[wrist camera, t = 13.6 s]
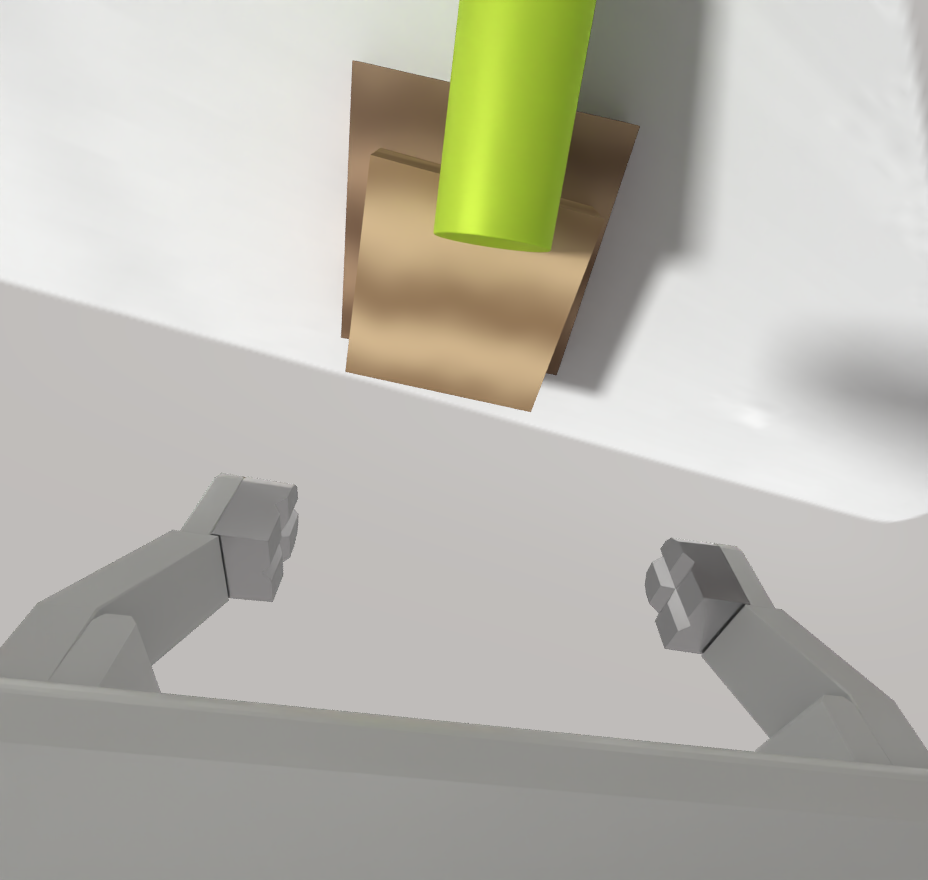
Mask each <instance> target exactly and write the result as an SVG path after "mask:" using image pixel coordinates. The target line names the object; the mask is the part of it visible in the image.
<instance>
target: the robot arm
mask: <svg viewBox="0 0 928 880" xmlns="http://www.w3.org/2000/svg"><path fill="white" fill-rule="evenodd" d="M297 499H298V492H297V486H296V485H294V484H288V483H282V482H276V481H270V480H264V479H258V478H252V477H243V476H237V475H231V474H225V473H221V474H219V475H218V476H216V477H215V478H214V480H213V481H212V483H211V484H210V486H209V487H208V489H207V490H206V492H205V494H204V495H203V497H202V498H201V500H200V501H199V503H198V504H197V506H196V508H195V509H194V510H193V512H192V514H191V515H190V517H189V518H188V520H187V521H186V523H185V524H184V526H183V527H182V529H181V530H180V531H177V530H171V531H169V532H168V533H166V534H164V535H162V536H160V537H159V538H157V539H155V540H153V541H151V542H149V543H147V544H146V545H144V546H142V547H140V548H138V549H137V550H134V551H133V552H131V553H129V554H127V555H125V556H123V557H122V558H120V559H118V560H116V561H115V562H112V563H111V564H109V565H107V566H105V567H103V568H101V569H100V570H98V571H96V572H94V573H92V574H90V575H88V576H87V577H85V578H83V579H81V580H79V581H77V582H75V583H74V584H72V585H70V586H68V587H66V588H65V589H63V590H61V591H59V592H57V593H55V594H53V595H52V596H50V597H48V598H46V599H44V600H42V601H40V602H39V603H37V604H36V606H35V607H34V608H33V609H32V610H31V612H30V613H29V614H28V615H27V616H26V618H25V619H24V620H23V621H22V622H21V624H20V625H19V626H18V627H17V628H16V630H15V631H14V632H13V633H12V634H11V636H10V637H9V638H8V639H7V640H6V642H5V643H4V644H3V645H2V646H1V647H0V880H928V750H927V749H926V747H925V746H924V745H923V743H922V741H921V740H920V738H919V737H918V735H917V734H916V733H915V731H914V730H913V728H912V727H911V725H910V724H909V722H908V721H907V719H906V718H905V716H904V715H903V713H902V712H901V710H900V709H899V708H898V706H897V705H896V703H895V702H894V700H892V699H891V698H890V697H889V696H887V695H886V694H885V693H884V692H883V691H881V690H880V689H879V688H878V687H876V686H875V685H874V684H873V683H871V682H870V681H869V680H868V679H867V678H865V677H864V676H863V675H862V674H860V673H859V672H858V671H857V670H856V669H854V668H853V667H852V666H850V665H849V664H848V663H847V662H846V661H845V660H843V659H842V658H841V657H840V656H838V655H837V654H836V653H835V652H834V651H832V650H831V649H830V648H829V647H827V646H826V645H825V644H824V643H822V642H821V641H820V640H819V639H818V638H816V637H815V636H814V635H813V634H811V633H810V632H809V631H808V630H807V629H805V628H804V627H803V626H802V625H800V624H799V623H798V622H797V621H796V620H794V619H793V618H792V617H791V616H789V615H788V614H787V613H786V612H785V611H783V610H782V609H776V608H775V607H774V605H773V604H772V602H771V600H770V598H769V597H768V595H767V593H766V592H765V590H764V588H763V586H762V585H761V583H760V581H759V579H758V578H757V576H756V574H755V572H754V571H753V569H752V567H751V566H750V564H749V562H748V561H747V559H746V557H745V555H744V553H743V552H742V551H741V550H740V549H739V548H738V547H737V546H731V545H723V544H715V543H714V544H712V543H707V542H699V541H691V540H684V539H677V538H670V539H669V540H667V541H665V543H664V544H663V546H662V547H661V552H662V555H663V557H661V558H659V559H657V560H655V561H653V562H652V563H651V565H650V567H649V569H648V571H647V573H646V580H645V588H646V595H647V598H648V601H649V603H650V605H651V606H652V607H653V608H654V609H655V610H656V611H657V612H658V613H659V614H658V616H657V618H656V620H655V622H656V625H657V628H658V631H659V633H660V636H661V639H662V642H663V645H664V648H665V649H671V650H677V651H684V652H691V653H697V654H702V658H703V659H704V660H705V661H706V662H707V664H708V665H709V666H710V667H711V668H712V669H713V671H714V672H715V673H716V674H717V676H718V677H719V678H720V679H721V680H722V681H723V683H724V684H725V685H726V686H727V688H728V689H729V690H730V691H731V692H732V694H733V695H734V696H735V697H736V698H737V699H738V701H739V702H740V703H741V704H742V705H743V707H744V708H745V709H746V710H747V711H748V712H749V714H750V715H751V716H752V717H753V719H754V720H755V721H756V722H757V723H758V724H759V726H760V727H761V728H762V729H763V731H764V732H765V733H766V734H767V735H768V737H769V738H770V739H769V740H768V741H766V742H765V743H763V744H762V745H761V746H760V747H759V748H757V749H756V751H755V752H751V751H741V750H732V749H721V748H711V747H701V746H691V745H681V744H671V743H661V742H650V741H641V740H630V739H620V738H610V737H601V736H590V735H581V734H571V733H560V732H550V731H541V730H530V729H520V728H509V727H500V726H490V725H479V724H469V723H459V722H448V721H439V720H429V719H418V718H408V717H397V716H388V715H378V714H368V713H358V712H348V711H338V710H327V709H317V708H306V707H297V706H287V705H276V704H267V703H257V702H246V701H237V700H227V699H216V698H205V697H196V696H186V695H176V694H166V693H161V692H160V689H159V686H158V683H157V681H156V678H155V675H154V672H153V669H152V665H153V664H154V663H155V662H156V661H158V660H159V659H160V658H161V657H162V656H164V655H165V654H166V653H167V652H168V651H170V650H171V649H172V648H173V647H174V646H175V645H177V644H178V643H179V642H180V641H181V640H183V639H184V638H185V637H186V636H187V635H188V634H190V633H191V632H192V631H193V630H194V629H196V628H197V627H198V626H199V625H200V624H202V623H203V622H204V621H205V620H206V619H207V618H209V617H210V616H211V615H212V614H213V613H215V612H216V611H217V610H218V609H219V608H220V607H221V606H223V605H224V604H225V603H226V602H228V601H229V599H228V598H234V599H245V600H256V601H267V602H273V600H274V597H275V595H276V592H277V590H278V587H279V584H280V582H281V579H282V577H283V562H284V561H285V560H287V559H288V558H290V556H291V553H292V550H293V547H294V544H295V540H296V536H297V530H298V513H297V512H296V511H295V509H294V506H295V504H296V502H297Z"/></svg>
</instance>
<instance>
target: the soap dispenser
mask: <svg viewBox="0 0 928 880" xmlns="http://www.w3.org/2000/svg"><path fill="white" fill-rule="evenodd" d="M595 5H596V0H460V1H459V10H458V19H457V28H456V36H455V45H454V54H453V63H452V72H451V81H450V90H449V99H448V107H447V116H446V125H445V134H444V143H443V152H442V161H441V169H440V178H439V187H438V196H437V205H436V214H435V223H434V232H433V233H434V235H436V236H439V237H442V238H445V239H449V240H453V241H458V242H463V243H468V244H473V245H479V246H485V247H492V248H499V249H507V250H515V251H525V252H549V251H551V247H552V242H553V236H554V231H555V225H556V220H557V214H558V209H559V203H560V197H561V192H562V186H563V181H564V175H565V170H566V164H567V159H568V153H569V148H570V142H571V137H572V131H573V126H574V120H575V115H576V109H577V104H578V98H579V93H580V87H581V82H582V76H583V71H584V65H585V60H586V54H587V49H588V43H589V38H590V32H591V27H592V21H593V16H594V10H595Z"/></svg>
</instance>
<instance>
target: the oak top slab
mask: <svg viewBox="0 0 928 880" xmlns="http://www.w3.org/2000/svg"><path fill="white" fill-rule="evenodd" d="M440 169H441V164H438V163H434V162H431V161H427V160H423V159H420V158H416V157H413V156H409V155H405V154H402V153H398V152H395V151H391V150H387V149H384V148H379V149H378V150H376V151H375V152H374V153H372V154H371V155H370V162H369V171H368V179H367V188H366V197H365V206H364V214H363V223H362V232H361V241H360V249H359V258H358V267H357V275H356V284H355V293H354V302H353V310H352V319H351V328H350V337H349V345H348V354H347V363H346V372H349V373H354V374H358V375H363V376H368V377H372V378H377V379H381V380H386V381H391V382H395V383H400V384H404V385H409V386H414V387H418V388H423V389H427V390H432V391H437V392H441V393H446V394H450V395H455V396H460V397H464V398H469V399H473V400H478V401H483V402H487V403H492V404H496V405H501V406H506V407H510V408H515V409H519V410H524V411H529V412H531V410H532V407H533V405H534V402H535V400H536V397H537V395H538V392H539V389H540V387H541V384H542V382H543V379H544V376H545V374H546V371H547V369H548V366H549V363H550V361H551V358H552V356H553V353H554V350H555V348H556V345H557V343H558V340H559V338H560V335H561V332H562V330H563V327H564V325H565V322H566V319H567V317H568V314H569V312H570V309H571V306H572V304H573V301H574V299H575V296H576V293H577V291H578V288H579V286H580V283H581V281H582V278H583V275H584V273H585V270H586V268H587V265H588V262H589V260H590V257H591V255H592V252H593V249H594V247H595V244H596V242H597V239H598V237H599V234H600V231H601V229H602V226H603V224H604V221H605V219H604V218H603V217H602V216H601V215H600V214H599V213H598V212H597V211H596V210H595V209H594V208H593V207H592V206H589V205H585V204H581V203H578V202H574V201H571V200H567V199H564V198H560V203H559V209H558V214H557V220H556V225H555V231H554V236H553V242H552V247H551V251H549V252H525V251H515V250H507V249H499V248H492V247H485V246H479V245H473V244H468V243H463V242H458V241H453V240H449V239H445V238H442V237H439V236H436V235H434V233H433V232H434V223H435V214H436V205H437V196H438V187H439V178H440Z"/></svg>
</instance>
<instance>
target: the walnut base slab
mask: <svg viewBox="0 0 928 880" xmlns="http://www.w3.org/2000/svg"><path fill="white" fill-rule="evenodd" d="M449 90H450V82H447V81H442V80H438V79H434V78H429V77H425V76H421V75H416V74H412V73H407V72H403V71H399V70H394V69H390V68H385V67H381V66H377V65H372V64H368V63H364V62H359V61H353V60H352V85H351V109H350V134H349V158H348V183H347V208H346V232H345V257H344V281H343V306H342V330H341V338H346V339H349V337H350V328H351V319H352V310H353V302H354V293H355V284H356V275H357V267H358V258H359V249H360V241H361V232H362V223H363V214H364V206H365V197H366V188H367V179H368V171H369V162H370V155H371V154H372V153H374V152H375V151H376V150H378V149H379V148H384V149H387V150H391V151H395V152H398V153H402V154H405V155H409V156H413V157H416V158H420V159H423V160H427V161H431V162H434V163H438V164H441V161H442V152H443V143H444V134H445V125H446V116H447V107H448V99H449ZM639 128H640V126H638V125H634V124H630V123H626V122H622V121H617V120H613V119H609V118H604V117H600V116H596V115H591V114H587V113H582V112H578V111H576V115H575V120H574V126H573V131H572V137H571V142H570V148H569V153H568V159H567V164H566V170H565V175H564V181H563V186H562V192H561V197H560V198H564V199H567V200H571V201H574V202H578V203H581V204H585V205H589V206H592V207H593V208H594V209H595V210H596V211H597V212H598V213H599V214H600V215H601V216H602V217H603V218H604V219H605V221H604V224H603V226H602V229H601V231H600V234H599V237H598V239H597V242H596V244H595V247H594V249H593V252H592V255H591V257H590V260H589V262H588V265H587V268H586V270H585V273H584V275H583V278H582V281H581V283H580V286H579V288H578V291H577V293H576V296H575V299H574V301H573V304H572V306H571V309H570V312H569V314H568V317H567V319H566V322H565V325H564V327H563V330H562V332H561V335H560V338H559V340H558V343H557V345H556V348H555V350H554V353H553V356H552V358H551V361H550V363H549V366H548V369H547V371H546V373H548V374H553V375H557V373H558V370H559V367H560V364H561V361H562V358H563V355H564V352H565V349H566V346H567V343H568V340H569V337H570V334H571V331H572V328H573V325H574V322H575V319H576V316H577V313H578V310H579V307H580V304H581V301H582V298H583V295H584V292H585V289H586V286H587V283H588V280H589V277H590V274H591V271H592V268H593V265H594V262H595V259H596V256H597V253H598V250H599V247H600V244H601V241H602V238H603V235H604V232H605V229H606V226H607V223H608V220H609V217H610V214H611V211H612V208H613V205H614V202H615V199H616V196H617V193H618V190H619V187H620V184H621V181H622V178H623V175H624V172H625V169H626V166H627V163H628V161H629V158H630V155H631V152H632V149H633V146H634V143H635V140H636V137H637V134H638V131H639Z"/></svg>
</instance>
